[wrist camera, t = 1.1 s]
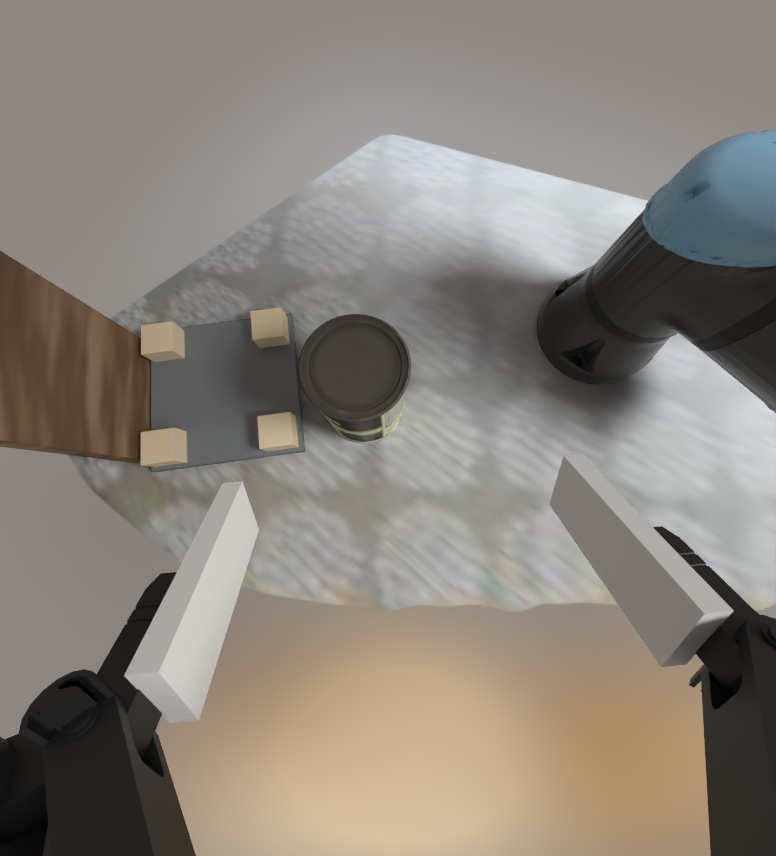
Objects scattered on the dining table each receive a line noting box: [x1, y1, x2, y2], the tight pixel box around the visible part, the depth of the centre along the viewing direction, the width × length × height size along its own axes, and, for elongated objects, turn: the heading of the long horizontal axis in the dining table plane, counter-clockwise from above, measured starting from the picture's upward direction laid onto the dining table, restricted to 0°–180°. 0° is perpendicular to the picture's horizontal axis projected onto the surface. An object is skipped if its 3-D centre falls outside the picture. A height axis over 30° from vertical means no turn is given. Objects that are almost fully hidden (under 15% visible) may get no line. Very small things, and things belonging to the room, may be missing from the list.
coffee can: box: [298, 314, 411, 443], centre depth 37 cm, size 10×10×14 cm
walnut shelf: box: [0, 251, 151, 463], centre depth 26 cm, size 13×16×38 cm
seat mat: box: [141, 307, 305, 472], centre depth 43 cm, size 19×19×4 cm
